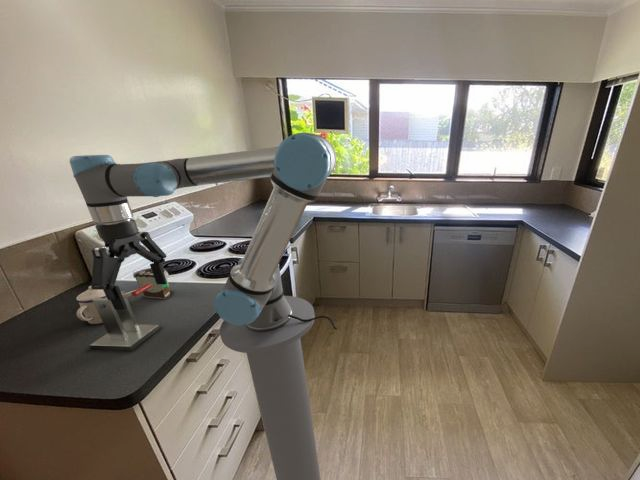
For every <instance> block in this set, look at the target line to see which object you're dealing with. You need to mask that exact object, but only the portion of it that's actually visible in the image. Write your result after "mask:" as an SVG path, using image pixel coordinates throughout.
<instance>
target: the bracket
mask: <svg viewBox="0 0 640 480" xmlns="http://www.w3.org/2000/svg"><path fill="white" fill-rule="evenodd" d="M120 291H121V294H122V295H123V294H126V292H125V291H124V290H120ZM124 301H125V303H126V306H127V309H125V310H115V309H114V307H113V304H112V302H111V300H108V299H107V298H95V299H94V300H93V302H94V304H95V306H96V309H97V311H98V313H99V315H100V317H101V320H102V322H103V323H102V324H103V326H104V328H105V330H106V333H105V334H104V335H103V336H101V337H100V338H98V339H96V340H95V341H94V342H92V343H91V344H89V347H90V349H91V350H98V351H99V350H103V351H133V350H135V349H136V348H138V346H140V345H142V344H143V343H144V342H145V341H146V340H148V339H149V338H150V337H151V336H153V334H155V333H156V332H157V331H158V330H160V326H159V324H139V323H138V322H137V319H136V317H135V314H134V311H133V310H132V307H131V304H130V302H129V300H128V297H127V298H124Z"/></svg>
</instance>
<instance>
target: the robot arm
mask: <svg viewBox="0 0 640 480" xmlns="http://www.w3.org/2000/svg"><path fill="white" fill-rule="evenodd" d="M335 150H336V149H334V146H333V145H332V143H331V142H330V141H329V140H328V139H326V137H324V136H322V135H319V134H315V133H309V132H297V133H293V134H291V135H289V136H288V137H286V138H284V139H283V140H282V141H280V143H279V145H278V146H272V147H266V148H257V149H249V150H248V149H247V150H240V151H234V152H233V151H232V152H226V153H225V152H224V153H217V154H208V155H199V156H192V157H184V158H173V159H168V160H159V161H151V162H148V161H147V162H142V163H141V162H140V163H116V162H115V159H114V158H113V157H112V156H111V155H109V154H85V155H74V156H71V157H70V158H69V165H70V167H71V171H72V175H73V178H74V180H75V182H76V184H77V186H78V188H79V191H80V192H81V195H82V198H83V199H84V202H85V205H86V207H87V210H88V212H89V214H90V217H91V219H92V222H93V223H95V226H94V228H95V229H96V232H97V235H98V237H99V238H100V239H101V240H102V241H103V243H104V246H102V247H92V248H91V254H92V256H93V261H92V262H93V263H92V273H91V285H90V286H91V288H92V289H94V290H103V291H104V293H105V295H106V297H107V299H108V300H111V302H112V304H113V307H114V309H115V310H125V309H127V306H126V303H125V301H124V299H123V296H122V294H121V291H122V290H121V289H120V287H119V285H116V282H117V279H118V275H119V272H120V269H121V266H122V263H124V261H125V259H127V258H129V257H131V256H133V255H136V254H137V255H139V257H142V258H144V259H146V260H147V261H149V262H151V263H150V264H149V265H150V266H149V267H150V268H151V269H152V272H153V275H154V278H155V281H156V283H157V284H167V281H166V278H165V275H164V269H165V268H164V265H163V263H165V262H166V258H167V254H166V253H165V252H164V251H163V250H162V249H161V248H160V246H159V245H158V244H157V243H156V242H155V241H154V240H153V239H152V237H151V235H150V233H149V231H139V228H138V225H137V222H136V219H134V214H133V211H132V208H131V206H130V202H129V200H128V197H153V198H159V197H166V196H167V197H168V196H170V195H173V194H174V193H175V191H176V190H178V189H183V188H190V187H191V188H193V187H198V186H205V185H212V184H213V185H214V184H220V183H221V184H223V183H230V182H239V181H248V180H257V179H264V178H265V179H266V178H270V179H269V180H270V183H271V184H272V187H273V189H272V191H271V193H270V195H269V198H268V200H267V202H266V204H265V207H264V210H263V212H262V214H261V216H260V219H259V221H258V223H257V226H256V228H255V230H254V232H253V235H252V238H251V239H250V241H249V245H248V246H247V249H246V251H245V254H244V255H243V258H240V259H239V260H238V261H237V265H234V266H233V267H232V269H231V270H230V273H229V275H228V277H227V278H226V279H227V280H226V282H225V284H224V286H223V288H222V289H221V290H220V291H219V292H217V294H216V296H215V297H214V299H213V308H214V309H213V310H214V311H215V313H216V314H217V315H218V317H219V318H220V319H222V320H223V321H226V322H228V323H231V324H234V325H246V327H247V328H248V329H249V330H252V331H256V332H265V331H271V330H274V329H277V328H279V327H281V326H283V325H285V324H286V323H287V322H288V321H289V320H290V319H291V317H292V318H295V319H298V320H300V321H304V322H307V321H312V320H314V321H315V320H317V319H321V318H323V319H327V320H328V321H329V322H330V323H331V326H332V327H333V329H334V330H335V331H336V330H338V328H337V327H336V325H335V322H334V321H333V319H332V318H331V317H330V316H328V315H319V316H318V315H317V316H315V317H314V318H312V319H307V320H304V319H301V318H298V317H295V316H292V310H291V307H290V305H289V304H288V302H287V300H286V299H285V297H284V296H285V294H284V288H283V283H282V277H281V270H280V262H281V260H282V258H283V256H284V254H285V251H286V249H287V247H288V245H289V243H290V241H291V239H292V237H293V235H294V232H295V231H296V228H297V226H298V224H299V222H300V220H301V218H302V216H303V214H304V212H305V210H306V208H307V206H308V204H310V203H314V202H317V199H318V198H319V195H320V193H321V191H322V189H323V187H324V185H325V183H326V182H327V179H328V177H329V176H330V175H331V174H332V173H333V172H334V171H335V168H336V163H337V154H336V151H335ZM140 243H141V244H140Z"/></svg>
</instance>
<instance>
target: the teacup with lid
mask: <svg viewBox="0 0 640 480" xmlns="http://www.w3.org/2000/svg"><path fill="white" fill-rule="evenodd" d="M95 298H107V297H106V295H105V293H104V291H103V290H94V289H92V288H91V285H89V286H88V289H87V290H85V291H83V292H81V293H79V294H78V295H77V296H76V300H75V301H76V303H78V304H79V308H78V309H77V310H76V317H77V318H78V319H79V320H80V321H82V322H87V323H88V324H90V325H98V324H103V322H102V320H101V317H100V315H99V313H98V311H97V309H96V306H95V304H94V302H93V300H94V299H95Z"/></svg>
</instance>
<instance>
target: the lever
mask: <svg viewBox="0 0 640 480" xmlns="http://www.w3.org/2000/svg"><path fill="white" fill-rule="evenodd" d="M149 288H151V284H149V283H147V284H145V285H144V286H142V287H138V288H136V289H134V290H131V291H128V292H125V294H123V295H122V296H123V299H124V298H127V299H128V298H130V297H138V296H140V294H143V293H142V292H144V291H146V290H147V289H149Z"/></svg>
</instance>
